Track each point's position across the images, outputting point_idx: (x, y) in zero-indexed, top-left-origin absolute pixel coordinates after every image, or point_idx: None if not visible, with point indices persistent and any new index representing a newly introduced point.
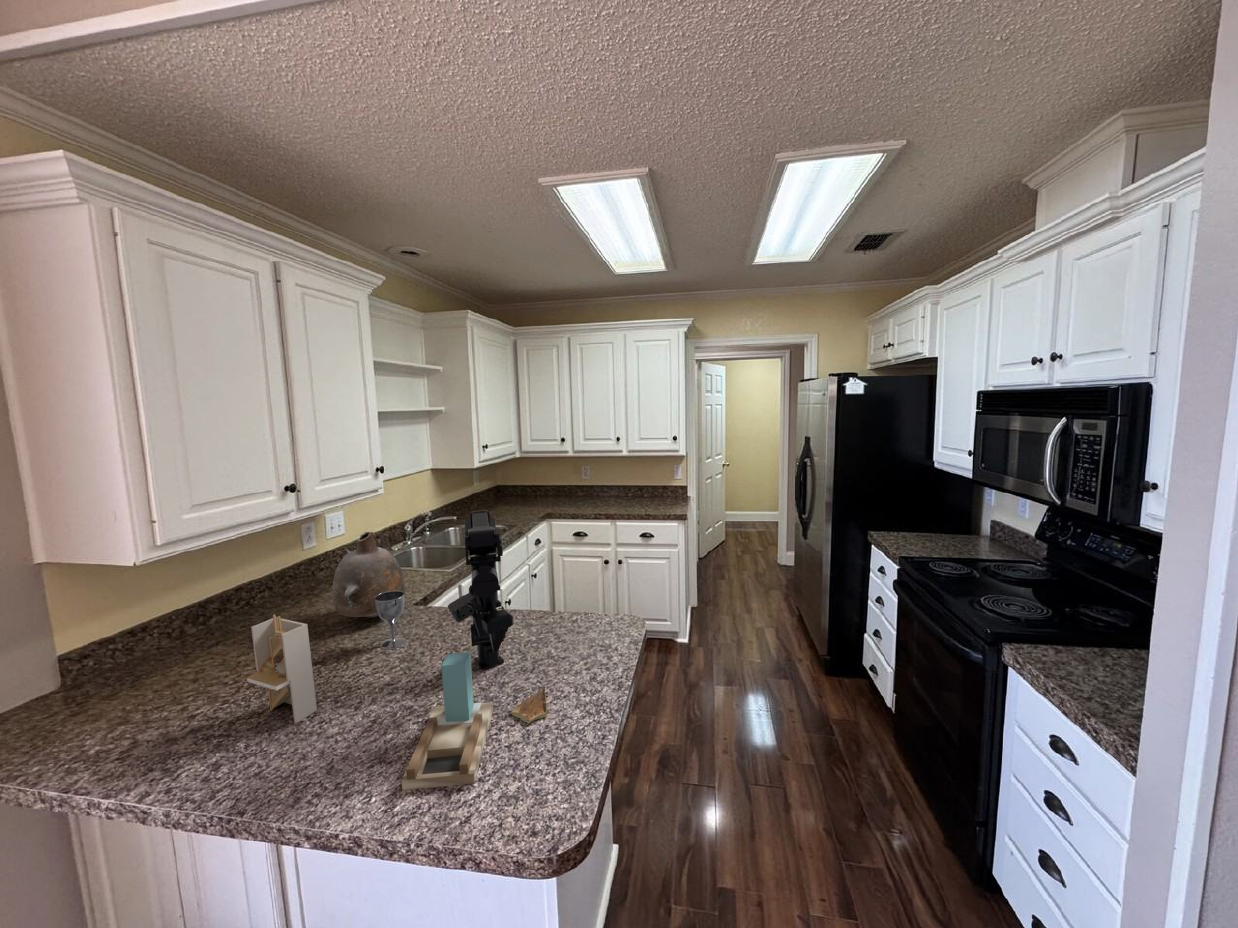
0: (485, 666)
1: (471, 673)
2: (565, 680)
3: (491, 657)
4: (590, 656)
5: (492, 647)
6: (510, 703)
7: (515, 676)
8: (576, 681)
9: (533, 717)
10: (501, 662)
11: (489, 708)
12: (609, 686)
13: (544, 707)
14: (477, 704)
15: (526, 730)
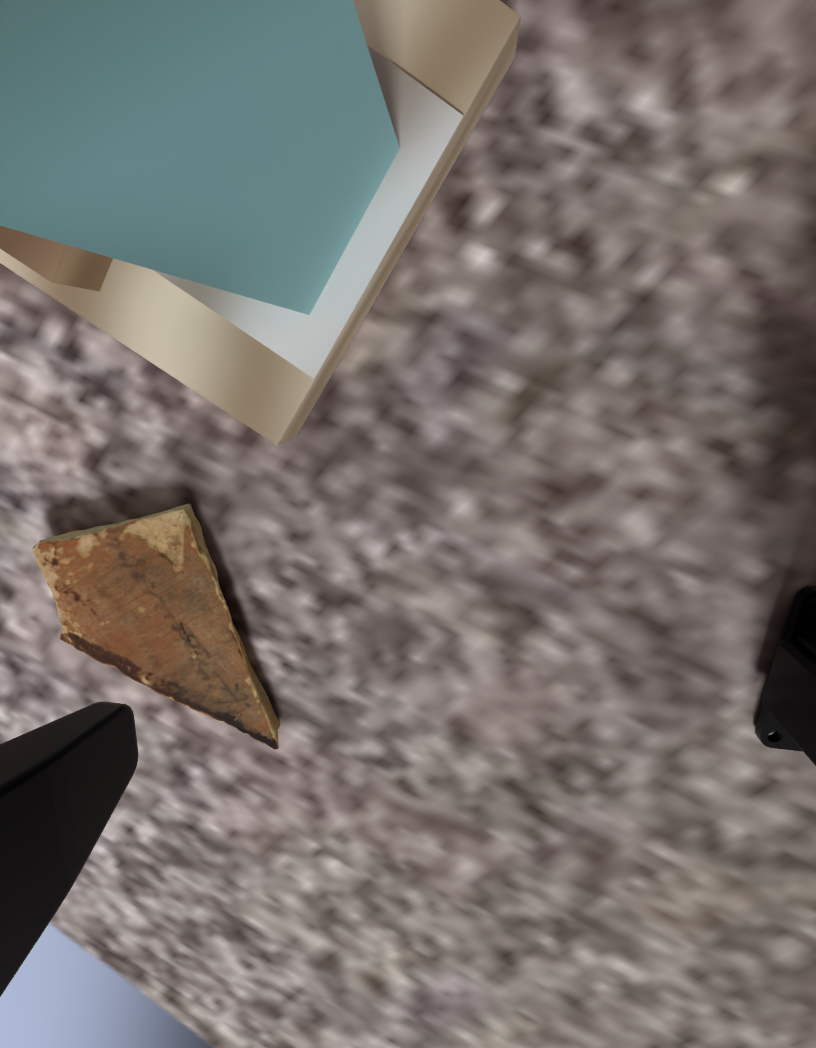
0: (807, 622)
1: (157, 267)
2: (305, 849)
3: (811, 697)
4: (418, 1031)
5: (31, 745)
6: (294, 547)
7: (539, 701)
8: (262, 874)
9: (46, 568)
10: (760, 721)
11: (218, 396)
12: (137, 933)
13: (103, 654)
14: (308, 344)
15: (19, 496)
